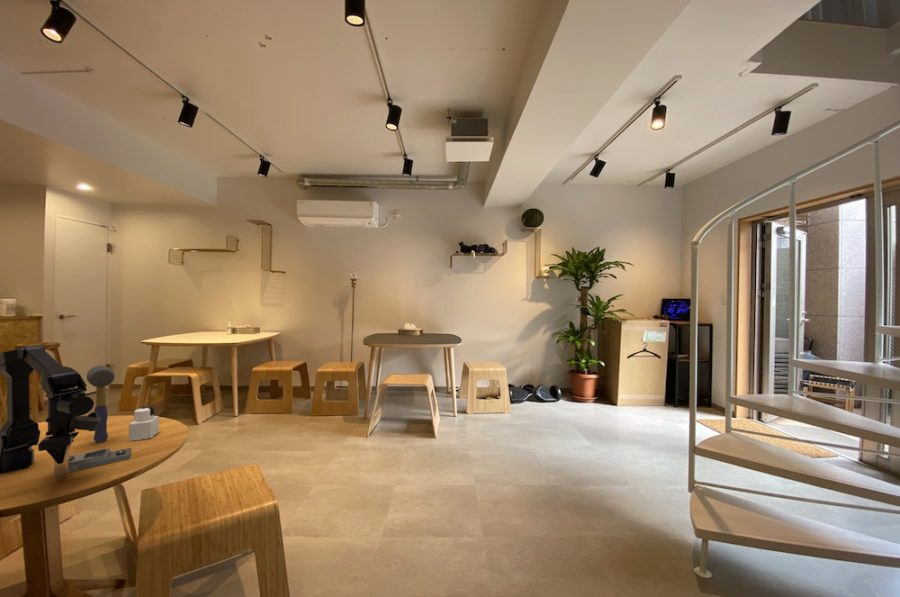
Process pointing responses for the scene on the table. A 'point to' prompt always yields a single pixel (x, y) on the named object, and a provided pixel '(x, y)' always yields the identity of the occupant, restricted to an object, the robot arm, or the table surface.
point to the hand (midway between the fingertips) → (62, 461)
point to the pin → (62, 467)
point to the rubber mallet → (100, 397)
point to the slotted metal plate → (97, 458)
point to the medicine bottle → (143, 424)
